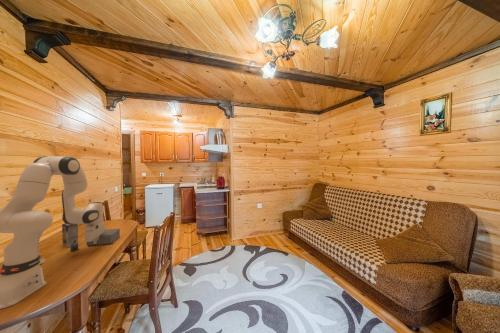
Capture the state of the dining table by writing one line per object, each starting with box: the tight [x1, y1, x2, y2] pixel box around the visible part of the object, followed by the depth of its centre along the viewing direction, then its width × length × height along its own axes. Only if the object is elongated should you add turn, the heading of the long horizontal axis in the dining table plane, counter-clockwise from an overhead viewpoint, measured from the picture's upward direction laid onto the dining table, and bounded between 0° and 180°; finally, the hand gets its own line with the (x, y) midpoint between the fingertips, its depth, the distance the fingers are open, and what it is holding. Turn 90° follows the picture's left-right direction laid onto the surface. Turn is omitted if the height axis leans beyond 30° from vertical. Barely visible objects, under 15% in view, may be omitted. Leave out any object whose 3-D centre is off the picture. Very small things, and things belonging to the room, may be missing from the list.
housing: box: [87, 228, 121, 247], centre depth 149 cm, size 14×16×7 cm
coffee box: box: [61, 223, 79, 249], centre depth 142 cm, size 9×6×16 cm
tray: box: [85, 236, 113, 246], centre depth 148 cm, size 14×16×5 cm
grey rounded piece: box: [69, 243, 79, 253], centre depth 133 cm, size 4×4×4 cm
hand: (95, 242), depth 137 cm, fingers closed
